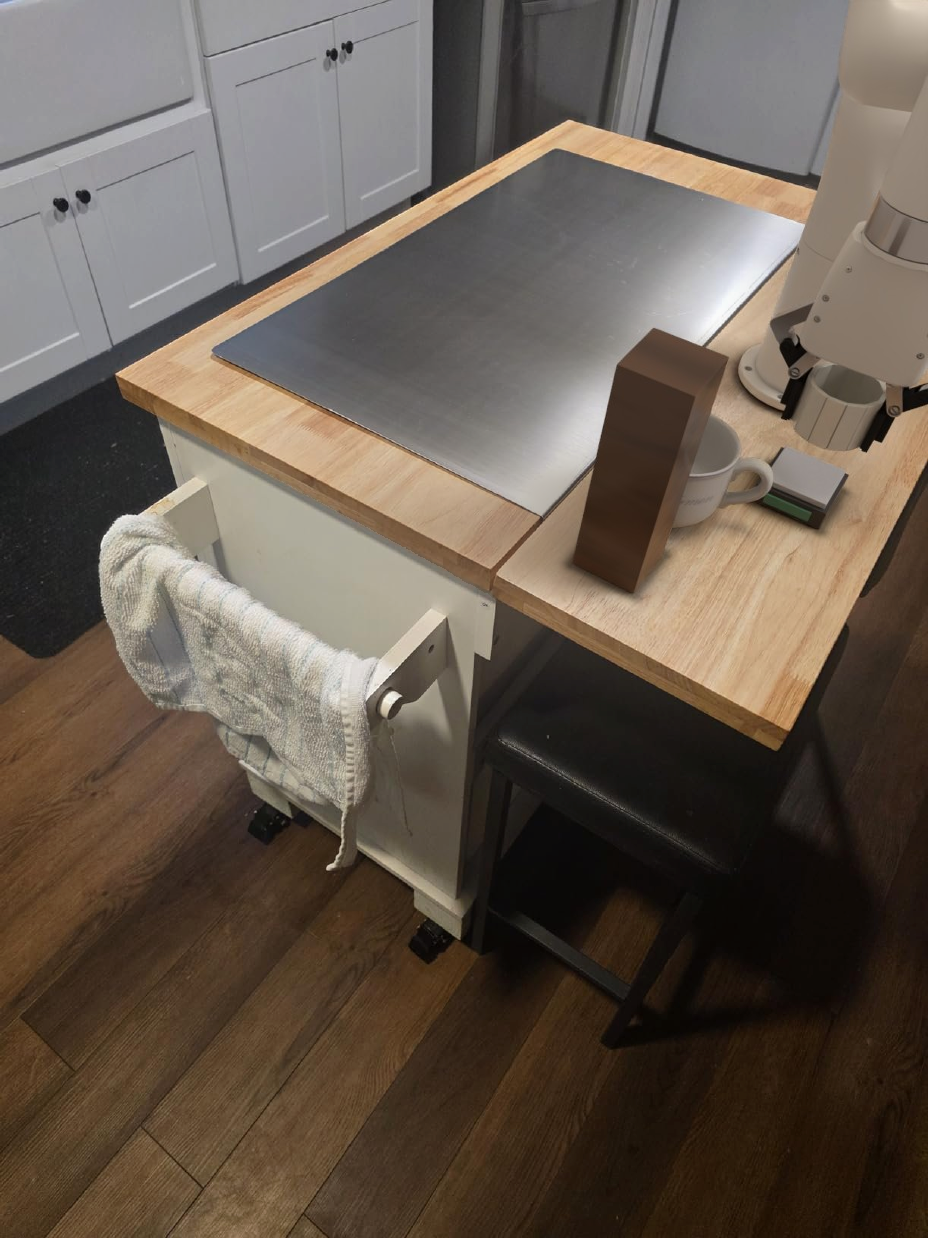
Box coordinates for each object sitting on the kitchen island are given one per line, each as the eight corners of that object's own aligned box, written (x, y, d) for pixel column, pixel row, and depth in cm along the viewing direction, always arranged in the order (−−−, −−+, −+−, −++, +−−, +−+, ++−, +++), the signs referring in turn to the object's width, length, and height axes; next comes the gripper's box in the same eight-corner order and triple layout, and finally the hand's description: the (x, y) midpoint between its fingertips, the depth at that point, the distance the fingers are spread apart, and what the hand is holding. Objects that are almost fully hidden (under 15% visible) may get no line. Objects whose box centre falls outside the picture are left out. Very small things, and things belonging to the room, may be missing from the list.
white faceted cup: (805, 397, 80) (823, 353, 76) (874, 424, 78) (896, 380, 74) (780, 431, 76) (799, 387, 73) (852, 460, 74) (875, 416, 71)
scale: (774, 462, 86) (783, 441, 84) (841, 490, 84) (852, 469, 82) (748, 500, 82) (757, 479, 80) (817, 531, 80) (828, 510, 78)
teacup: (581, 510, 80) (597, 441, 74) (634, 450, 86) (652, 382, 80) (721, 578, 76) (750, 510, 70) (766, 509, 82) (796, 442, 76)
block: (603, 524, 79) (653, 326, 64) (663, 553, 77) (729, 356, 62) (571, 563, 76) (616, 363, 60) (633, 594, 74) (695, 396, 59)
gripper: (1054, 246, 63) (936, 445, 77) (822, 176, 68) (751, 373, 82) (1035, 287, 59) (914, 490, 72) (790, 209, 64) (720, 411, 78)
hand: (828, 426), depth 77 cm, fingers closed on white faceted cup, 6 cm apart
